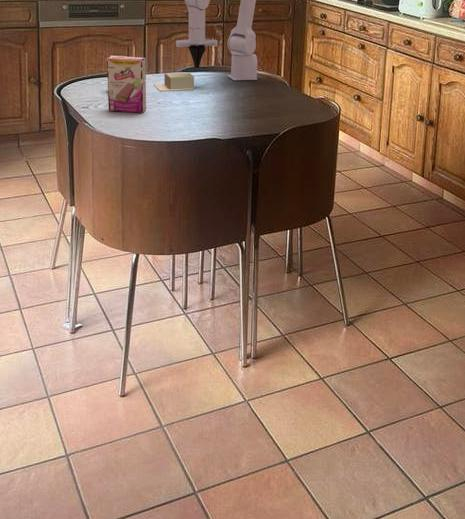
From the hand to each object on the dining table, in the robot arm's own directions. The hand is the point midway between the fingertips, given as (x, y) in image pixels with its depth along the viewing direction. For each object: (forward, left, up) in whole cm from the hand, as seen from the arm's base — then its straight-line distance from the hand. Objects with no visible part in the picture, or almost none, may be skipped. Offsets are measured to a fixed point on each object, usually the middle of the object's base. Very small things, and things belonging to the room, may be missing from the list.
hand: (196, 67), depth 258 cm
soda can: (+28, +2, -7) cm, 29 cm away
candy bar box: (+30, +28, -7) cm, 42 cm away
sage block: (+2, 0, -5) cm, 5 cm away
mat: (+9, 0, -7) cm, 11 cm away
